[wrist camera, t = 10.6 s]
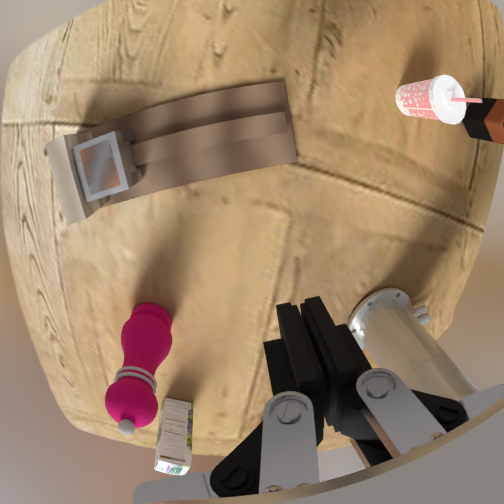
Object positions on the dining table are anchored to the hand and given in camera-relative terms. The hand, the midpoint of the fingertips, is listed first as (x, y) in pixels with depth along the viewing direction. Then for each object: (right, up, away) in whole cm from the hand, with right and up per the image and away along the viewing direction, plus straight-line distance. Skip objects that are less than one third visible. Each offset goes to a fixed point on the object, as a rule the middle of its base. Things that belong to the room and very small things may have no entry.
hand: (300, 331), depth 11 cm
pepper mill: (-17, -7, +30) cm, 35 cm away
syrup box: (-17, -27, +39) cm, 50 cm away
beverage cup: (+20, +24, +21) cm, 37 cm away
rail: (-10, +16, +20) cm, 28 cm away
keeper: (-18, +14, +19) cm, 29 cm away
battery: (+35, +26, +22) cm, 48 cm away
